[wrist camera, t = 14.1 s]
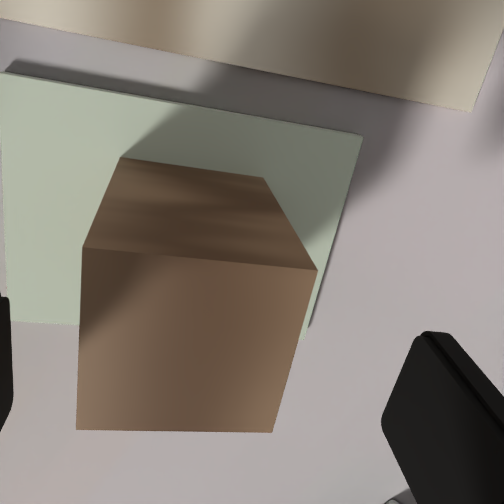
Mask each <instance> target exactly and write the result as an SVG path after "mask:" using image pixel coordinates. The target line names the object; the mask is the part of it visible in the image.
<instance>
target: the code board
mask: <svg viewBox="0 0 504 504" xmlns="http://www.w3.org/2000/svg"><path fill="white" fill-rule="evenodd" d="M0 18H3V19H8V20H13V21H18V22H23V23H28V24H33V25H38V26H43V27H48V28H53V29H58V30H63V31H68V32H73V33H78V34H83V35H88V36H93V37H98V38H102V39H107V40H112V41H117V42H122V43H127V44H132V45H137V46H142V47H147V48H152V49H157V50H162V51H167V52H172V53H177V54H182V55H187V56H192V57H197V58H202V59H207V60H212V61H217V62H222V63H227V64H232V65H237V66H242V67H247V68H252V69H257V70H262V71H267V72H271V73H276V74H281V75H286V76H291V77H296V78H301V79H306V80H311V81H316V82H321V83H326V84H331V85H336V86H341V87H346V88H351V89H356V90H361V91H366V92H371V93H376V94H381V95H386V96H391V97H396V98H401V99H406V100H411V101H416V102H421V103H426V104H431V105H436V106H440V107H445V108H450V109H455V110H460V111H465V112H470V113H471V112H472V109H473V107H474V104H475V101H476V99H477V96H478V94H479V91H480V88H481V86H482V83H483V81H484V78H485V75H486V73H487V70H488V68H489V65H490V63H491V60H492V57H493V55H494V52H495V50H496V47H497V44H498V42H499V39H500V37H501V34H502V31H503V29H504V0H0Z"/></svg>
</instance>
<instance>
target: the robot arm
mask: <svg viewBox="0 0 504 504" xmlns="http://www.w3.org/2000/svg"><path fill="white" fill-rule="evenodd" d="M12 402H13V370H12V345H11V320H10V301H9V298H8V297H1V293H0V431H1V429H2V427H3V425H4V423H5V421H6V419H7V417H8V415H9V412H10V410H11V407H12ZM381 426H382V430H383V433H384V435H385V437H386V439H387V441H388V443H389V445H390V447H391V449H392V452H393V454H394V456H395V458H396V460H397V462H398V464H399V466H400V468H401V471H402V473H403V475H404V477H405V479H406V481H407V483H408V485H409V487H410V489H411V492H412V494H413V496H414V498H415V500H416V502H417V504H504V396H503V395H502V394H501V393H500V392H499V391H498V389H497V388H496V387H495V386H494V385H493V384H492V382H491V381H490V380H489V379H488V378H487V376H486V375H485V374H484V373H483V372H482V371H481V369H480V368H479V367H478V366H477V365H476V364H475V362H474V361H473V360H472V359H471V358H470V356H469V355H468V354H467V353H466V352H465V351H464V349H463V348H462V347H461V346H460V345H459V344H458V342H457V341H456V340H455V339H454V338H453V336H451V335H450V334H449V333H443V332H433V331H425V332H423V333H422V334H421V335H420V336H417V337H416V338H415V339H414V341H413V343H412V345H411V348H410V350H409V353H408V355H407V357H406V360H405V362H404V364H403V367H402V369H401V372H400V374H399V376H398V379H397V381H396V384H395V386H394V388H393V391H392V393H391V395H390V398H389V400H388V403H387V405H386V407H385V410H384V412H383V414H382V418H381Z"/></svg>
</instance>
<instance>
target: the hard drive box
mask: <svg viewBox="0 0 504 504" xmlns="http://www.w3.org/2000/svg"><path fill="white" fill-rule="evenodd" d="M386 504H400V503H398V502H396V501H395V500H390V501H388V502H387V503H386Z"/></svg>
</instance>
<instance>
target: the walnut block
mask: <svg viewBox="0 0 504 504" xmlns="http://www.w3.org/2000/svg"><path fill="white" fill-rule="evenodd" d="M317 273H318V269H317V268H316V266H315V264H314V263H313V261H312V259H311V258H310V256H309V254H308V252H307V251H306V249H305V247H304V246H303V244H302V242H301V241H300V239H299V237H298V235H297V234H296V232H295V230H294V229H293V227H292V225H291V224H290V222H289V220H288V219H287V217H286V215H285V213H284V212H283V210H282V208H281V207H280V205H279V203H278V202H277V200H276V198H275V196H274V195H273V193H272V191H271V190H270V188H269V186H268V185H267V183H266V181H265V180H264V178H263V177H256V176H249V175H242V174H235V173H228V172H221V171H215V170H208V169H201V168H194V167H187V166H180V165H173V164H166V163H159V162H152V161H145V160H138V159H131V158H124V157H120V158H119V161H118V163H117V165H116V168H115V170H114V172H113V175H112V177H111V180H110V182H109V184H108V187H107V189H106V191H105V194H104V196H103V199H102V201H101V203H100V206H99V208H98V211H97V213H96V215H95V218H94V220H93V222H92V225H91V227H90V230H89V232H88V234H87V237H86V239H85V241H84V244H83V246H82V265H81V295H80V324H79V354H78V384H77V414H76V430H123V431H193V432H262V433H272V431H273V427H274V424H275V420H276V417H277V413H278V410H279V406H280V403H281V399H282V396H283V392H284V389H285V385H286V382H287V378H288V375H289V371H290V368H291V364H292V361H293V357H294V354H295V350H296V347H297V343H298V340H299V336H300V333H301V329H302V326H303V322H304V319H305V315H306V312H307V308H308V305H309V301H310V298H311V294H312V291H313V287H314V284H315V280H316V277H317Z"/></svg>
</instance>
